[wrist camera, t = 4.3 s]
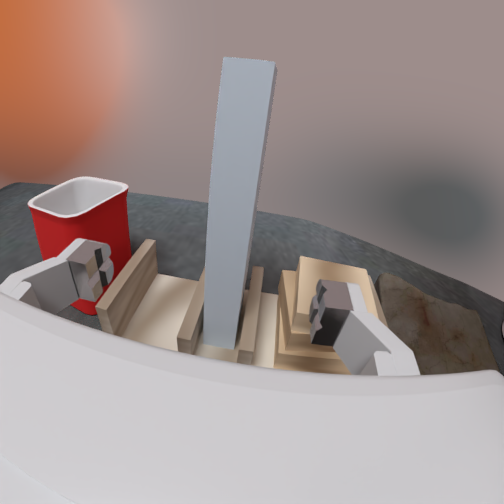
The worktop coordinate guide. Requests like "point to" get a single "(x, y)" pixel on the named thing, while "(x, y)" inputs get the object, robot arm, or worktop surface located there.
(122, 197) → the mug
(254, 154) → the tall board
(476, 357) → the brown flat slab
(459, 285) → the worktop surface
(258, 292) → the offcut rack
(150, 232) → the worktop surface
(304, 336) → the offcut stack
